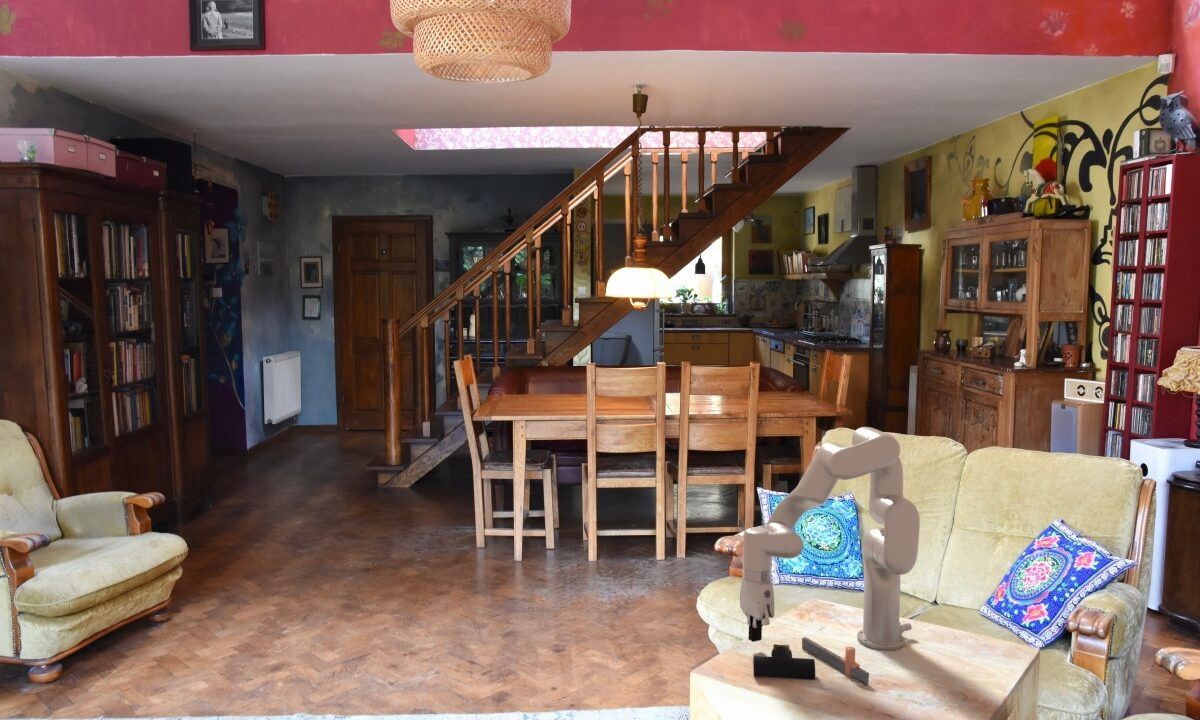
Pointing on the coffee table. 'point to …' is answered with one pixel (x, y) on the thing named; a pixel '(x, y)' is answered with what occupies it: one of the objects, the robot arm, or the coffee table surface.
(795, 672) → the pipe connector
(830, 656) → the guide rail
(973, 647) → the coffee table surface
